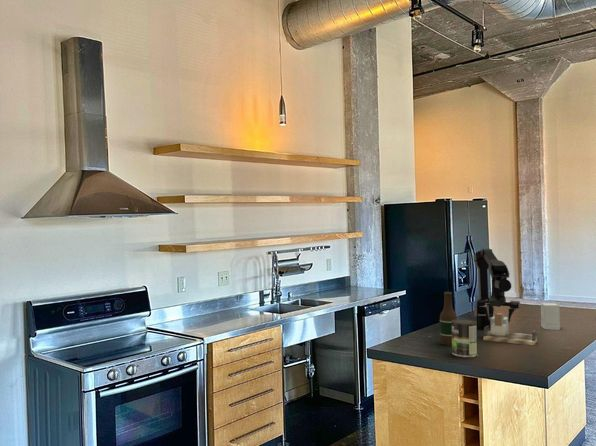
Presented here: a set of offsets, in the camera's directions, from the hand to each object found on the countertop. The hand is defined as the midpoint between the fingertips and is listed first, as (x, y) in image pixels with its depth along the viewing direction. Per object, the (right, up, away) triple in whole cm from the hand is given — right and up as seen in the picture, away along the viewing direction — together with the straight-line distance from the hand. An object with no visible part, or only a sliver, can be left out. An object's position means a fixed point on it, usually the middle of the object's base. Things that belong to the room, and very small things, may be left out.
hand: (498, 321), depth 242 cm
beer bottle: (-26, -9, -7) cm, 28 cm away
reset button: (+5, -1, +12) cm, 13 cm away
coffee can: (-25, -9, -26) cm, 37 cm away
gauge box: (+5, -8, +12) cm, 15 cm away
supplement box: (+36, -8, +22) cm, 43 cm away
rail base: (+4, -8, -3) cm, 10 cm away
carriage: (0, -6, 0) cm, 6 cm away
